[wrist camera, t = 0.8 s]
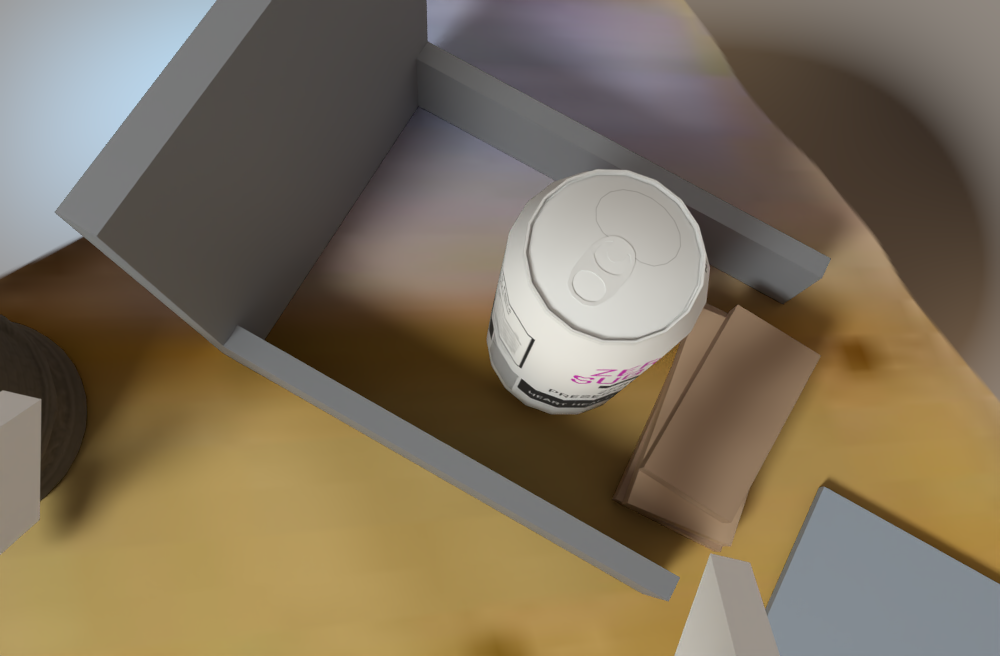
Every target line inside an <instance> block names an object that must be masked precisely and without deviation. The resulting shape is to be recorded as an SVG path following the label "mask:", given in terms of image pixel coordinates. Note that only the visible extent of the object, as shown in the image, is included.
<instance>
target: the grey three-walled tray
mask: <svg viewBox="0 0 1000 656" xmlns="http://www.w3.org/2000/svg"><path fill="white" fill-rule="evenodd" d="M418 106H420V107H421V108H423V109H425V110H427V111H429V112H431V113H432V114H434V115H436V116H438V117H440V118H442V119H443V120H445V121H447V122H449V123H451V124H453V125H454V126H456V127H458V128H460V129H462V130H464V131H465V132H467V133H469V134H471V135H473V136H475V137H477V138H478V139H480V140H482V141H484V142H486V143H488V144H489V145H491V146H493V147H495V148H497V149H499V150H500V151H502V152H504V153H506V154H508V155H510V156H511V157H513V158H515V159H517V160H519V161H521V162H522V163H524V164H526V165H528V166H530V167H532V168H533V169H535V170H537V171H539V172H541V173H543V174H545V175H546V176H548V177H550V178H552V179H554V180H556V181H558V180H561V179H564V178H567V177H570V176H573V175H576V174H579V173H582V172H586V171H593V170H596V169H604V170H629V171H632V172H634V173H637V174H640V175H643V176H646V177H648V178H651V179H654V180H657V181H658V182H659V183H661V184H662V185H663V186H665V187H666V188H667V189H668V190H670V191H671V192H672V193H674V194H675V195H676V196H677V197H679V198H680V199H681V200H682V201H683V202H684V204H685V205H686V207H687V208H688V210H689V211H690V213H691V214H692V216H693V217H694V219H695V220H696V222H697V223H698V225H699V228H700V232H701V235H702V238H703V242H704V246H705V250H706V254H707V258H708V262H709V264H710V265H712V266H714V267H715V268H717V269H719V270H721V271H723V272H725V273H727V274H728V275H730V276H732V277H734V278H736V279H738V280H739V281H741V282H743V283H745V284H747V285H749V286H750V287H752V288H754V289H756V290H758V291H760V292H761V293H763V294H765V295H767V296H769V297H771V298H772V299H774V300H776V301H778V302H780V303H782V304H784V303H785V302H787V301H788V300H790V299H791V298H793V297H794V296H796V295H797V294H799V293H800V292H802V291H803V290H805V289H806V288H808V287H809V286H811V285H812V284H814V283H815V282H817V281H818V280H819V279H821V278H822V277H823V275H824V272H825V270H826V268H827V266H828V264H829V262H830V260H831V258H829V257H827V256H825V255H823V254H821V253H820V252H818V251H816V250H814V249H812V248H810V247H808V246H807V245H805V244H803V243H801V242H799V241H797V240H795V239H794V238H792V237H790V236H788V235H786V234H784V233H782V232H781V231H779V230H777V229H775V228H773V227H771V226H769V225H768V224H766V223H764V222H762V221H760V220H758V219H756V218H755V217H753V216H751V215H749V214H747V213H745V212H743V211H742V210H740V209H738V208H736V207H734V206H732V205H730V204H729V203H727V202H725V201H723V200H721V199H719V198H717V197H716V196H714V195H712V194H710V193H708V192H706V191H704V190H703V189H701V188H699V187H697V186H695V185H693V184H691V183H690V182H688V181H686V180H684V179H682V178H680V177H678V176H677V175H675V174H673V173H671V172H669V171H667V170H665V169H664V168H662V167H660V166H658V165H656V164H654V163H652V162H651V161H649V160H647V159H645V158H643V157H641V156H639V155H638V154H636V153H634V152H632V151H630V150H628V149H626V148H625V147H623V146H621V145H619V144H617V143H615V142H613V141H612V140H610V139H608V138H606V137H604V136H602V135H600V134H599V133H597V132H595V131H593V130H591V129H589V128H587V127H586V126H584V125H582V124H580V123H578V122H576V121H574V120H573V119H571V118H569V117H567V116H565V115H563V114H561V113H559V112H558V111H556V110H554V109H552V108H550V107H548V106H546V105H545V104H543V103H541V102H539V101H537V100H535V99H533V98H532V97H530V96H528V95H526V94H524V93H522V92H520V91H519V90H517V89H515V88H513V87H511V86H509V85H507V84H506V83H504V82H502V81H500V80H498V79H496V78H494V77H493V76H491V75H489V74H487V73H485V72H483V71H481V70H480V69H478V68H476V67H474V66H472V65H470V64H468V63H467V62H465V61H463V60H461V59H459V58H457V57H455V56H454V55H452V54H450V53H448V52H446V51H444V50H442V49H441V48H439V47H437V46H435V45H433V44H431V43H429V42H428V40H427V3H426V0H217V1H216V2H215V3H214V5H213V6H212V7H211V9H210V10H209V11H208V13H207V14H206V15H205V17H204V18H203V19H202V20H201V22H200V23H199V24H198V26H197V27H196V29H195V30H194V31H193V32H192V33H191V35H190V36H189V37H188V39H187V40H186V41H185V43H184V44H183V45H182V46H181V48H180V49H179V50H178V52H177V53H176V54H175V56H174V57H173V58H172V60H171V61H170V62H169V63H168V65H167V66H166V67H165V69H164V70H163V71H162V73H161V74H160V75H159V77H158V78H157V79H156V80H155V82H154V83H153V84H152V86H151V87H150V88H149V90H148V91H147V92H146V93H145V95H144V96H143V97H142V99H141V100H140V101H139V103H138V104H137V105H136V107H135V108H134V109H133V111H132V112H131V113H130V114H129V116H128V117H127V118H126V120H125V121H124V122H123V124H122V125H121V126H120V127H119V129H118V130H117V131H116V133H115V134H114V135H113V137H112V138H111V139H110V141H109V142H108V143H107V144H106V146H105V147H104V148H103V150H102V151H101V152H100V154H99V155H98V156H97V158H96V159H95V160H94V161H93V163H92V164H91V165H90V167H89V168H88V169H87V171H86V172H85V173H84V174H83V176H82V177H81V178H80V180H79V181H78V182H77V184H76V185H75V186H74V188H73V189H72V190H71V192H70V193H69V194H68V195H67V197H66V198H65V199H64V201H63V202H62V203H61V205H60V206H59V207H58V208H57V210H56V211H55V213H56V214H57V215H58V216H60V217H61V218H62V219H63V220H64V221H66V222H67V223H68V224H69V225H70V226H72V227H73V228H74V229H75V230H76V231H78V232H79V233H80V234H81V235H82V236H83V237H85V238H86V239H87V240H88V241H89V242H91V243H92V244H93V245H94V246H95V247H97V248H98V249H99V250H100V251H101V252H103V253H104V254H105V255H106V256H107V257H109V258H110V259H111V260H112V261H113V262H115V263H116V264H117V265H118V266H119V267H121V268H122V269H123V270H124V271H125V272H127V273H128V274H129V275H130V276H131V277H133V278H134V279H135V280H136V281H137V282H139V283H140V284H141V285H142V286H143V287H145V288H146V289H147V290H148V291H149V292H151V293H152V294H153V295H154V296H155V297H157V298H158V299H159V300H160V301H161V302H162V303H164V304H165V305H166V306H167V307H168V308H170V309H171V310H172V311H173V312H174V313H176V314H177V315H178V316H179V317H180V318H182V319H183V320H184V321H185V322H186V323H188V324H189V325H190V326H191V327H192V328H194V329H195V330H196V331H197V332H198V333H200V334H201V335H202V336H203V337H204V338H206V339H207V340H208V341H209V342H210V343H212V344H213V345H214V346H215V347H216V348H218V349H219V350H220V351H221V352H222V353H224V354H226V355H227V356H229V357H231V358H233V359H234V360H236V361H238V362H239V363H241V364H243V365H245V366H246V367H248V368H250V369H252V370H253V371H255V372H257V373H259V374H260V375H262V376H264V377H266V378H267V379H269V380H271V381H273V382H274V383H276V384H278V385H280V386H281V387H283V388H285V389H287V390H288V391H290V392H292V393H294V394H295V395H297V396H299V397H300V398H302V399H304V400H306V401H307V402H309V403H311V404H313V405H314V406H316V407H318V408H320V409H321V410H323V411H325V412H327V413H328V414H330V415H332V416H334V417H335V418H337V419H339V420H341V421H342V422H344V423H346V424H348V425H349V426H351V427H353V428H355V429H356V430H358V431H360V432H362V433H363V434H365V435H367V436H368V437H370V438H372V439H374V440H375V441H377V442H379V443H381V444H382V445H384V446H386V447H388V448H389V449H391V450H393V451H395V452H396V453H398V454H400V455H402V456H403V457H405V458H407V459H409V460H410V461H412V462H414V463H416V464H417V465H419V466H421V467H423V468H424V469H426V470H428V471H430V472H431V473H433V474H435V475H436V476H438V477H440V478H442V479H443V480H445V481H447V482H449V483H450V484H452V485H454V486H456V487H457V488H459V489H461V490H463V491H464V492H466V493H468V494H470V495H471V496H473V497H475V498H477V499H478V500H480V501H482V502H484V503H485V504H487V505H489V506H491V507H492V508H494V509H496V510H498V511H499V512H501V513H503V514H504V515H506V516H508V517H510V518H511V519H513V520H515V521H517V522H518V523H520V524H522V525H524V526H525V527H527V528H529V529H531V530H532V531H534V532H536V533H538V534H539V535H541V536H543V537H545V538H546V539H548V540H550V541H552V542H553V543H555V544H557V545H559V546H560V547H562V548H564V549H566V550H567V551H569V552H571V553H572V554H574V555H576V556H578V557H579V558H581V559H583V560H585V561H586V562H588V563H590V564H592V565H593V566H595V567H597V568H599V569H600V570H602V571H604V572H606V573H607V574H609V575H611V576H613V577H614V578H616V579H618V580H620V581H621V582H623V583H625V584H627V585H628V586H630V587H632V588H633V589H635V590H637V591H639V592H640V593H642V594H645V595H648V596H652V597H655V598H659V599H662V600H666V601H669V600H670V598H671V595H672V593H673V591H674V589H675V587H676V585H677V583H678V581H679V579H680V577H678V576H676V575H675V574H673V573H671V572H669V571H668V570H666V569H664V568H662V567H661V566H659V565H657V564H655V563H654V562H652V561H650V560H648V559H647V558H645V557H643V556H641V555H640V554H638V553H636V552H634V551H633V550H631V549H629V548H627V547H626V546H624V545H622V544H620V543H619V542H617V541H615V540H613V539H612V538H610V537H608V536H606V535H605V534H603V533H601V532H599V531H598V530H596V529H594V528H592V527H591V526H589V525H587V524H585V523H584V522H582V521H580V520H578V519H577V518H575V517H573V516H571V515H569V514H568V513H566V512H564V511H562V510H561V509H559V508H557V507H555V506H554V505H552V504H550V503H548V502H547V501H545V500H543V499H541V498H540V497H538V496H536V495H534V494H533V493H531V492H529V491H527V490H526V489H524V488H522V487H520V486H519V485H517V484H515V483H513V482H512V481H510V480H508V479H506V478H505V477H503V476H501V475H499V474H498V473H496V472H494V471H492V470H491V469H489V468H487V467H485V466H484V465H482V464H480V463H478V462H477V461H475V460H473V459H471V458H470V457H468V456H466V455H464V454H463V453H461V452H459V451H457V450H456V449H454V448H452V447H450V446H449V445H447V444H445V443H443V442H442V441H440V440H438V439H436V438H435V437H433V436H431V435H429V434H428V433H426V432H424V431H422V430H421V429H419V428H417V427H415V426H414V425H412V424H410V423H408V422H406V421H405V420H403V419H401V418H399V417H398V416H396V415H394V414H392V413H391V412H389V411H387V410H385V409H384V408H382V407H380V406H378V405H377V404H375V403H373V402H371V401H370V400H368V399H366V398H364V397H363V396H361V395H359V394H357V393H356V392H354V391H352V390H350V389H349V388H347V387H345V386H343V385H342V384H340V383H338V382H336V381H335V380H333V379H331V378H329V377H328V376H326V375H324V374H322V373H321V372H319V371H317V370H315V369H314V368H312V367H310V366H308V365H307V364H305V363H303V362H301V361H300V360H298V359H296V358H294V357H293V356H291V355H289V354H287V353H286V352H284V351H282V350H280V349H279V348H277V347H275V346H273V345H272V344H270V343H268V342H266V341H265V338H266V337H267V335H268V334H269V332H270V331H271V329H272V328H273V326H274V325H275V323H276V322H277V320H278V319H279V317H280V316H281V314H282V313H283V311H284V310H285V308H286V306H287V305H288V303H289V302H290V300H291V299H292V297H293V296H294V294H295V293H296V291H297V290H298V288H299V287H300V285H301V284H302V282H303V281H304V279H305V278H306V276H307V275H308V273H309V272H310V270H311V268H312V267H313V265H314V264H315V262H316V261H317V259H318V258H319V256H320V255H321V253H322V252H323V250H324V249H325V247H326V246H327V244H328V243H329V241H330V240H331V238H332V237H333V235H334V234H335V232H336V231H337V229H338V227H339V226H340V224H341V223H342V221H343V220H344V218H345V217H346V215H347V214H348V212H349V211H350V209H351V208H352V206H353V205H354V203H355V202H356V200H357V199H358V197H359V196H360V194H361V193H362V191H363V189H364V188H365V186H366V185H367V183H368V182H369V180H370V179H371V177H372V176H373V174H374V173H375V171H376V170H377V168H378V167H379V165H380V164H381V162H382V161H383V159H384V158H385V156H386V155H387V153H388V152H389V150H390V148H391V147H392V145H393V144H394V142H395V141H396V139H397V138H398V136H399V135H400V133H401V132H402V130H403V129H404V127H405V126H406V124H407V123H408V121H409V120H410V118H411V117H412V115H413V114H414V112H415V110H416V109H417V107H418Z"/></svg>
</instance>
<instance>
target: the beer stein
mask: <svg viewBox="0 0 1000 656" xmlns="http://www.w3.org/2000/svg"><path fill="white" fill-rule="evenodd" d="M1 391H8V392H12V393H16V394H21V395H25V396H30V397H34V398H38V399H41V461H40V500H42V499H43V498H44V497H45V496H46V495H47V494H48V493H49V492H50V491H51V490H52V489H53V488H54V487H55V486H56V485H57V483H58V482H59V481H60V480H61V479H62V478H63V477H64V476H65V474H66V473H67V471H68V470H69V468H70V466H71V464H72V462H73V461H74V459H75V457H76V455H77V453H78V451H79V449H80V445H81V442H82V439H83V436H84V432H85V429H86V417H87V405H86V395H85V391H84V388H83V384H82V381H81V378H80V376H79V374H78V372H77V370H76V368H75V366H74V364H73V363H72V361H71V360H70V359H69V357H68V356H67V355H66V353H65V352H64V351H63V349H61V348H60V347H59V346H58V345H56V344H55V343H54V342H53V341H51V340H50V339H49V338H48V337H46V336H44V335H42V334H41V333H39V332H37V331H36V330H34V329H31V328H29V327H27V326H24V325H21V324H18V323H14V322H11V321H9V320H8V319H7V318H6V317H5V316H3V315H1V314H0V392H1Z"/></svg>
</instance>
